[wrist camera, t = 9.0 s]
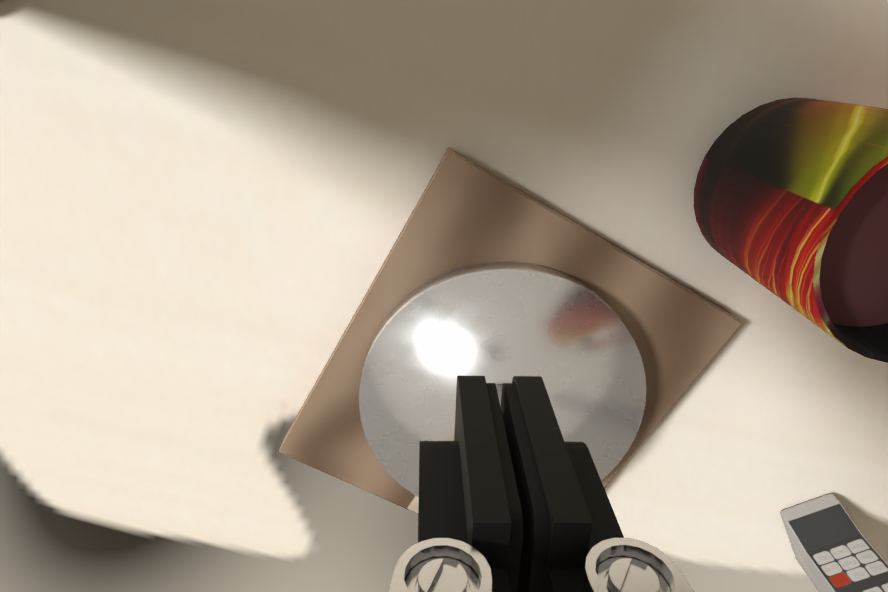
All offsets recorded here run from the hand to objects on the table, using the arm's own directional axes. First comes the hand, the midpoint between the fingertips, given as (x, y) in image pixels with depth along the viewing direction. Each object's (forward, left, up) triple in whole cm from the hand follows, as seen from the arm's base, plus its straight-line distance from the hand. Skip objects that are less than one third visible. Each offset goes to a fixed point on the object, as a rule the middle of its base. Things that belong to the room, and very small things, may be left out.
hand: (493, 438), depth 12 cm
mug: (+18, +9, -24) cm, 31 cm away
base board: (+8, -9, -24) cm, 27 cm away
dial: (+8, -9, -22) cm, 26 cm away
